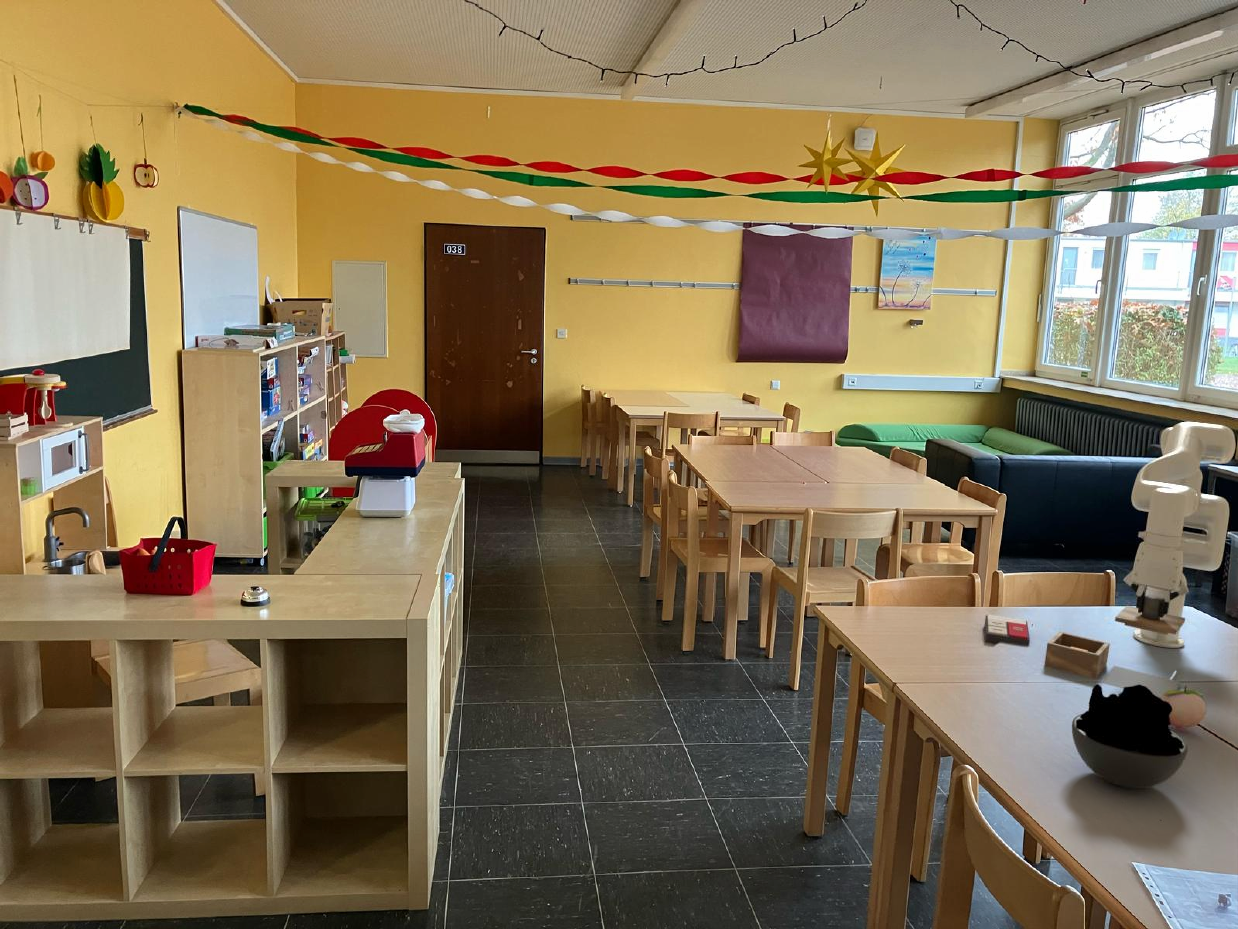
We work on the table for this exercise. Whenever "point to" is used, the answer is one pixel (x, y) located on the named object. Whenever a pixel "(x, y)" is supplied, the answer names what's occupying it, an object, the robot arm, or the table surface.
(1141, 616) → the lid
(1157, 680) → the mat
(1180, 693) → the decorative fruit
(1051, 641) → the storage box
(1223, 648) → the table surface
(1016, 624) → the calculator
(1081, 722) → the coal bowl
